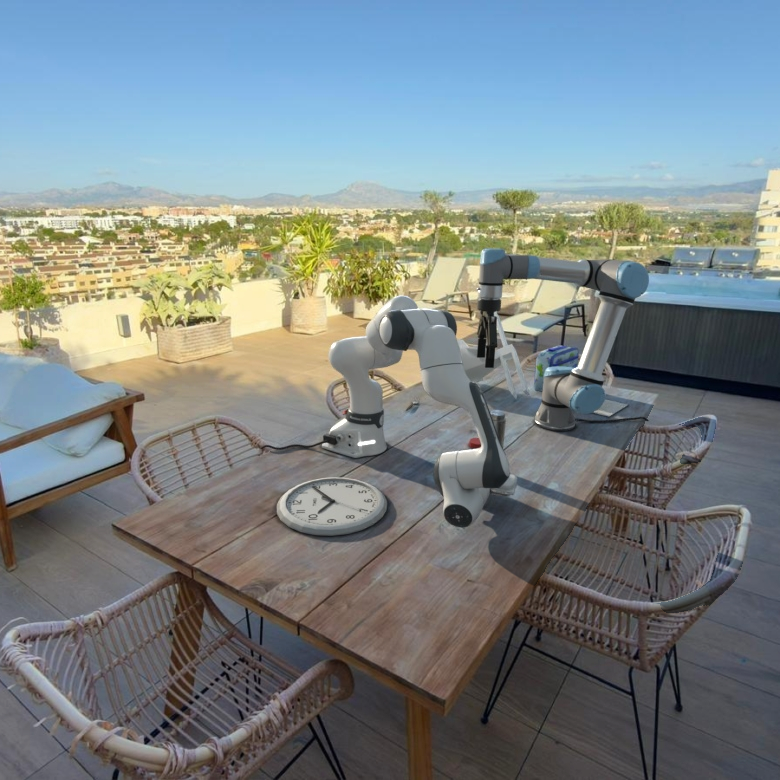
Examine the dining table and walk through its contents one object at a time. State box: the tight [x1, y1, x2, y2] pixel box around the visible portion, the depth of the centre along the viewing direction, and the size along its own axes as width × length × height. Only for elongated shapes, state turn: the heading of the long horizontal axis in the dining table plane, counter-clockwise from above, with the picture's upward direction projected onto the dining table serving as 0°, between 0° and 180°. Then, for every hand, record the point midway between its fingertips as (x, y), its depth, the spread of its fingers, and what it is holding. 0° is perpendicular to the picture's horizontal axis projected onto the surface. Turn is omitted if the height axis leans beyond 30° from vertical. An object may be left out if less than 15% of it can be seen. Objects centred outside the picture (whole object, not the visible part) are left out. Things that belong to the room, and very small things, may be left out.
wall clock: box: [276, 476, 388, 537], centre depth 142 cm, size 30×2×30 cm
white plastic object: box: [457, 312, 531, 400], centre depth 245 cm, size 37×45×31 cm
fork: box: [405, 396, 421, 411], centre depth 222 cm, size 3×16×2 cm, turn 160°
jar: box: [490, 410, 507, 448], centre depth 162 cm, size 5×5×20 cm
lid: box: [468, 437, 481, 449], centre depth 183 cm, size 6×6×2 cm
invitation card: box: [592, 398, 629, 418], centre depth 226 cm, size 21×1×15 cm
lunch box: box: [533, 345, 580, 393], centre depth 245 cm, size 26×11×21 cm, turn 135°
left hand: (485, 467), depth 151 cm, fingers open, 8 cm apart
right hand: (484, 362), depth 174 cm, fingers open, 13 cm apart
